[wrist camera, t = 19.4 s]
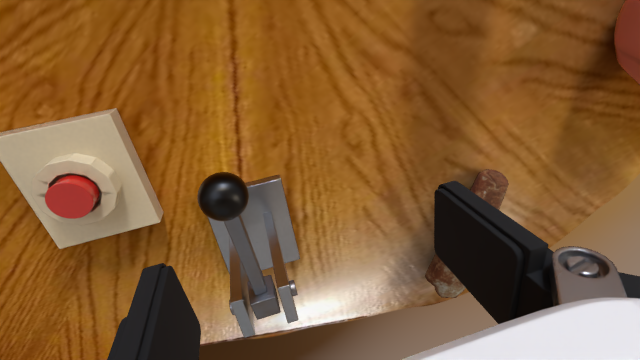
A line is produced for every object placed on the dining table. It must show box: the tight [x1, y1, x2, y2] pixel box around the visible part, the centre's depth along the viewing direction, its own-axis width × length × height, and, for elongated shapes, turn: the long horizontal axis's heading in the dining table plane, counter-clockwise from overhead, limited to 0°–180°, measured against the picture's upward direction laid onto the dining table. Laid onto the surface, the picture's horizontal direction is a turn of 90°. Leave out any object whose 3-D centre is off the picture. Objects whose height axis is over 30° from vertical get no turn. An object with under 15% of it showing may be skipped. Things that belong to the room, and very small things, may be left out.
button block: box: [0, 108, 163, 249], centre depth 32 cm, size 12×10×4 cm
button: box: [45, 175, 99, 219], centre depth 30 cm, size 4×4×2 cm
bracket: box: [208, 175, 300, 338], centre depth 35 cm, size 12×9×14 cm
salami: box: [425, 169, 508, 298], centre depth 47 cm, size 6×19×6 cm, turn 161°
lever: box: [198, 172, 281, 320], centre depth 26 cm, size 16×3×3 cm, turn 10°
